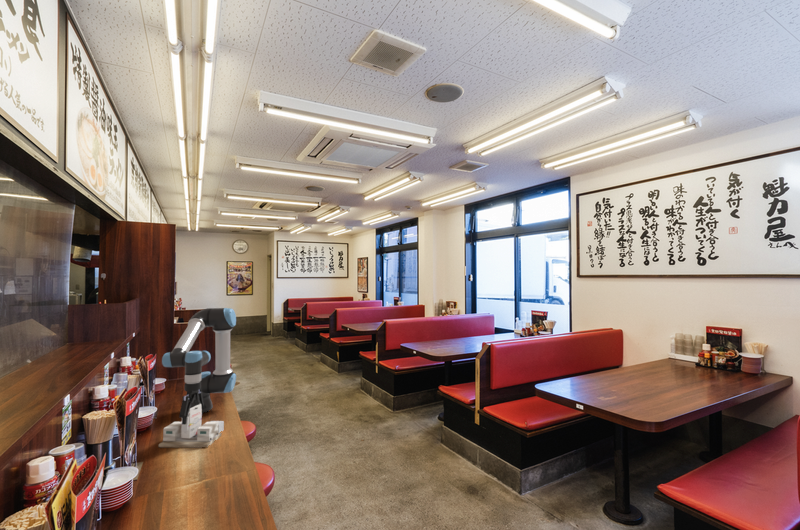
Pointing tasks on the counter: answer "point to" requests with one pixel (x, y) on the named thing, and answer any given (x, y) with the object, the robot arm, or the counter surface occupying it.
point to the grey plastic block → (220, 425)
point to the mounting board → (202, 439)
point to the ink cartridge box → (193, 422)
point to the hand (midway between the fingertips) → (191, 425)
